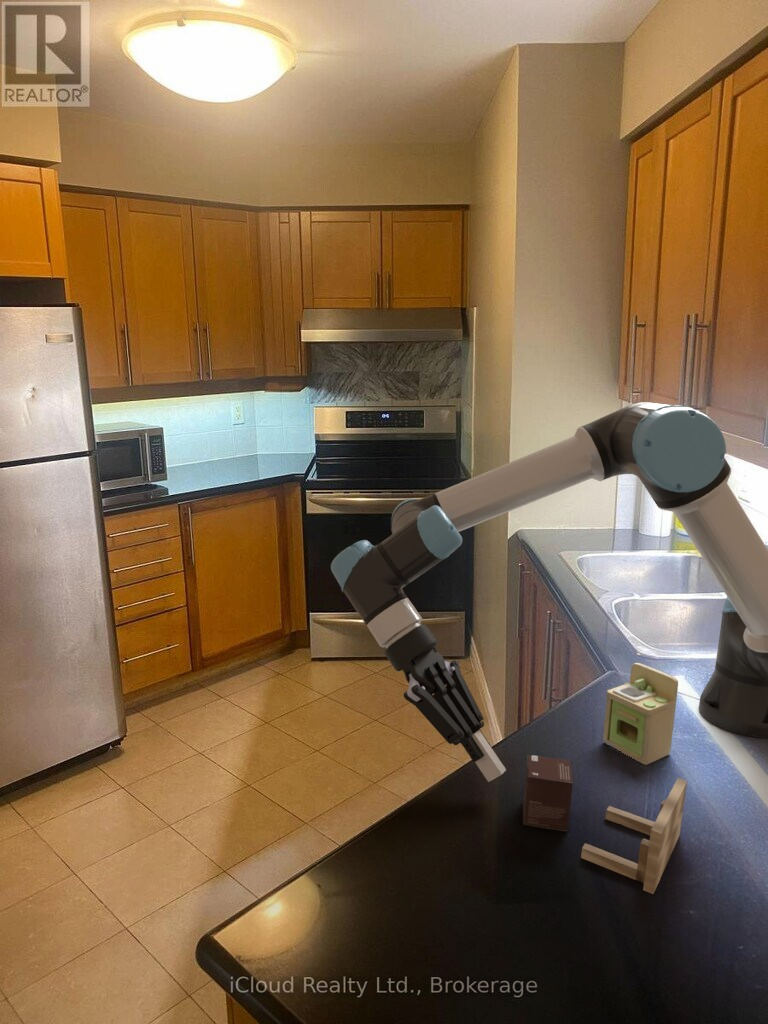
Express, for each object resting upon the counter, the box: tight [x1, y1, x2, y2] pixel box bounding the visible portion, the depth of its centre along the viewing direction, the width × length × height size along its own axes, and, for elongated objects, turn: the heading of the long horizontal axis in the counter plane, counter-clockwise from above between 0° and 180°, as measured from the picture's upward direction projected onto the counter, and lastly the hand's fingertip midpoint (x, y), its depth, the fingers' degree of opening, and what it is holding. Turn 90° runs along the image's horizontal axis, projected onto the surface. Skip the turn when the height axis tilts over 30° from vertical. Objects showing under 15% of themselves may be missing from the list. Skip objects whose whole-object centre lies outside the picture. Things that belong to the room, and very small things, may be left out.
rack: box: [580, 777, 688, 895], centre depth 95 cm, size 14×9×8 cm, turn 147°
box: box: [522, 754, 574, 832], centre depth 102 cm, size 6×6×7 cm
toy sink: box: [602, 662, 679, 766], centre depth 121 cm, size 9×7×13 cm
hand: (497, 775), depth 105 cm, fingers closed
